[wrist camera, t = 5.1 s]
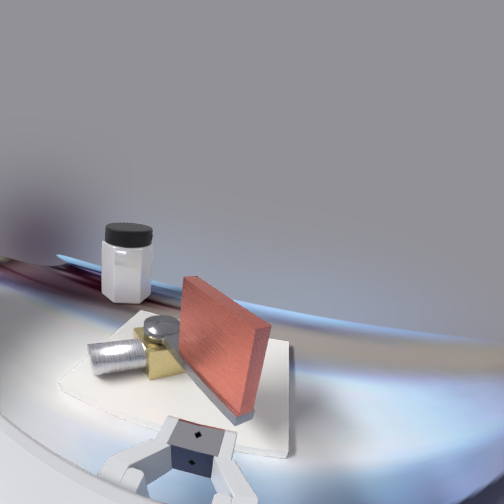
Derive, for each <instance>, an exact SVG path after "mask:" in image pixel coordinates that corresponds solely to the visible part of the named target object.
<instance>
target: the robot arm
mask: <svg viewBox="0 0 504 504" xmlns="http://www.w3.org/2000/svg"><path fill="white" fill-rule="evenodd" d="M236 438H237V432H235V431H230V430H225V429H221V428H216V427H211V426H207V425H201V424H198V423H194V422H190V421H187V420H184V419H180V418H177V417H173V416H170V415H168V416H167V417H166V419H165V421H164V423H163V425H162V427H161V429H160V431H159V432H158V434H157V436H156V438H155V440H154V439H150V440H148V441H145V442H143V443H141V444H139V445H136V446H134V447H132V448H129V449H127V450H125V451H122V452H120V453H117V454H115V455H112V456H110V457H109V458H108V459H107V461H106V462H105V464H104V465H103V467H102V468H101V470H100V471H99V473H98V474H97V476H96V475H94V474H92V473H90V472H88V471H86V470H84V469H82V468H80V467H78V466H77V465H75V464H73V463H71V462H69V461H68V460H66V459H64V458H63V457H61V456H59V455H58V454H56V453H54V452H53V451H51V450H50V449H48V448H47V447H45V446H44V445H42V444H41V443H39V442H38V441H36V440H35V439H33V438H32V437H30V436H29V435H28V434H26V433H25V432H24V431H22V430H21V429H20V428H18V427H17V426H16V425H14V424H13V423H12V422H10V421H9V420H8V419H7V418H6V417H4V416H3V415H2V414H1V413H0V504H166V503H163V502H160V501H157V500H154V499H151V498H150V497H149V493H148V489H147V485H148V484H149V483H151V482H153V481H154V480H156V479H157V478H159V477H161V476H162V475H164V474H165V473H167V472H168V471H170V470H171V469H172V468H174V469H177V470H181V471H185V472H189V473H193V474H196V475H200V476H204V477H208V478H211V480H212V483H213V485H214V487H215V490H216V492H217V494H215V495H214V498H213V501H212V504H258V498H257V496H256V495H255V493H254V491H253V490H252V488H251V487H250V485H249V483H248V482H247V480H246V478H245V477H244V475H243V473H242V472H241V470H240V468H239V466H238V465H237V463H236V461H235V460H232V457H233V452H234V448H235V443H236Z"/></svg>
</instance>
